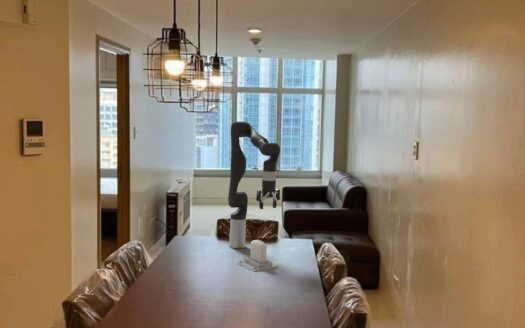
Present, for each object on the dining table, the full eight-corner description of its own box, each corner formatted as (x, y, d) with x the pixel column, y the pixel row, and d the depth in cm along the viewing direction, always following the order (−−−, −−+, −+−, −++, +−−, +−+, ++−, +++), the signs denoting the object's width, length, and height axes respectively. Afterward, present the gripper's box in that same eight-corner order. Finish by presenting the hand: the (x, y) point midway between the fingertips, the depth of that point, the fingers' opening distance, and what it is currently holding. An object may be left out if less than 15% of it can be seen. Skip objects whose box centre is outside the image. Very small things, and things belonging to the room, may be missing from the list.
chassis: (237, 263, 264) (237, 258, 264) (260, 259, 272) (260, 254, 272) (254, 271, 251) (254, 265, 250) (278, 267, 259) (278, 261, 259)
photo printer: (248, 261, 264) (249, 239, 263) (255, 260, 267) (256, 238, 266) (260, 266, 256) (261, 243, 255) (267, 265, 259) (268, 242, 258)
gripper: (275, 177, 279) (274, 206, 281) (254, 178, 271) (253, 208, 273) (283, 179, 273) (282, 208, 274) (262, 180, 265) (260, 210, 266)
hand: (267, 208), depth 274 cm, fingers open, 8 cm apart
